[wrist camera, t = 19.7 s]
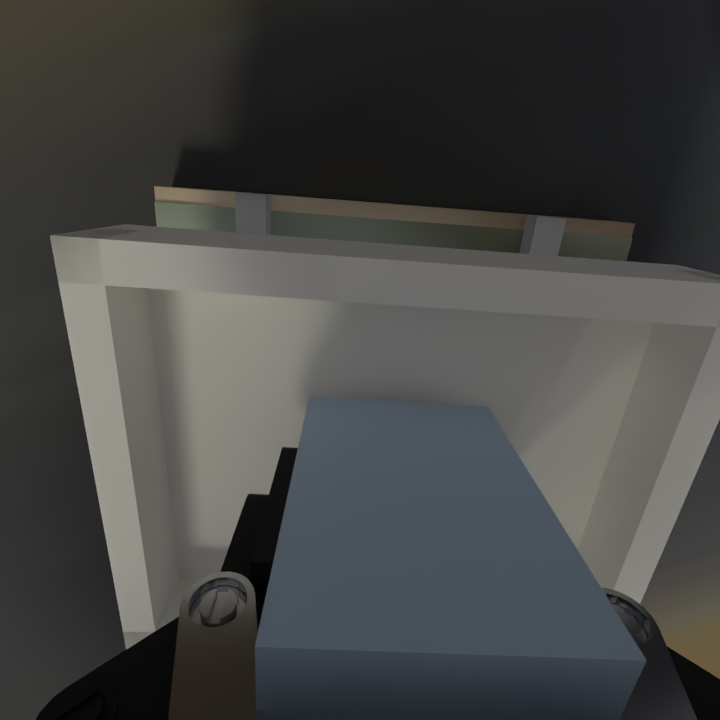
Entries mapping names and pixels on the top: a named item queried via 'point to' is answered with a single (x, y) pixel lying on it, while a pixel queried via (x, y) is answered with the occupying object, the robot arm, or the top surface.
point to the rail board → (391, 223)
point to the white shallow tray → (375, 381)
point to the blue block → (430, 580)
